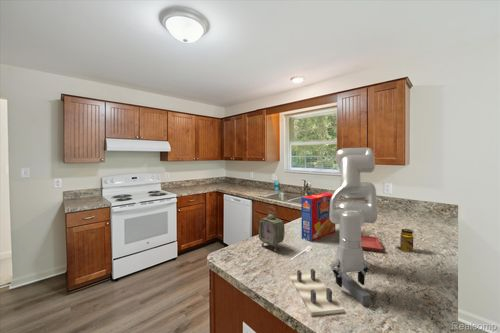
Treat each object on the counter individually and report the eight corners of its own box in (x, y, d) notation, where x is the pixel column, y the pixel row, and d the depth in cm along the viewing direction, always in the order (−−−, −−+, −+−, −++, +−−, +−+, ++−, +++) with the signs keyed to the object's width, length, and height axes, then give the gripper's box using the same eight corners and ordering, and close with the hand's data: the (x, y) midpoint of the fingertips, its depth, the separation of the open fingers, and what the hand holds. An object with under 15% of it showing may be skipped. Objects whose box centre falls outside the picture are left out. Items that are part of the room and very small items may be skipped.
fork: (288, 260, 114) (288, 256, 114) (307, 248, 128) (307, 245, 128) (293, 262, 112) (293, 258, 112) (312, 249, 126) (312, 246, 126)
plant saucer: (383, 254, 119) (383, 248, 119) (347, 249, 126) (348, 244, 126) (377, 242, 136) (377, 237, 136) (346, 238, 143) (346, 233, 142)
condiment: (414, 254, 118) (415, 232, 118) (396, 250, 122) (396, 230, 122) (412, 249, 125) (413, 228, 124) (395, 246, 129) (395, 226, 128)
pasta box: (311, 242, 136) (311, 198, 135) (301, 238, 143) (301, 197, 142) (335, 232, 153) (335, 194, 152) (325, 229, 160) (325, 192, 159)
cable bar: (333, 276, 97) (333, 268, 97) (339, 276, 98) (340, 267, 98) (362, 306, 78) (362, 295, 77) (370, 305, 78) (370, 295, 78)
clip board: (289, 277, 97) (289, 266, 96) (314, 275, 98) (314, 263, 98) (311, 316, 73) (311, 301, 73) (344, 312, 74) (344, 297, 74)
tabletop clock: (258, 245, 132) (258, 205, 131) (268, 241, 138) (268, 203, 137) (275, 253, 121) (275, 209, 120) (286, 249, 127) (285, 207, 126)
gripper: (363, 238, 92) (363, 277, 92) (325, 240, 89) (325, 280, 90) (376, 245, 84) (376, 287, 84) (335, 247, 82) (335, 291, 82)
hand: (350, 284), depth 87 cm, fingers open, 9 cm apart
